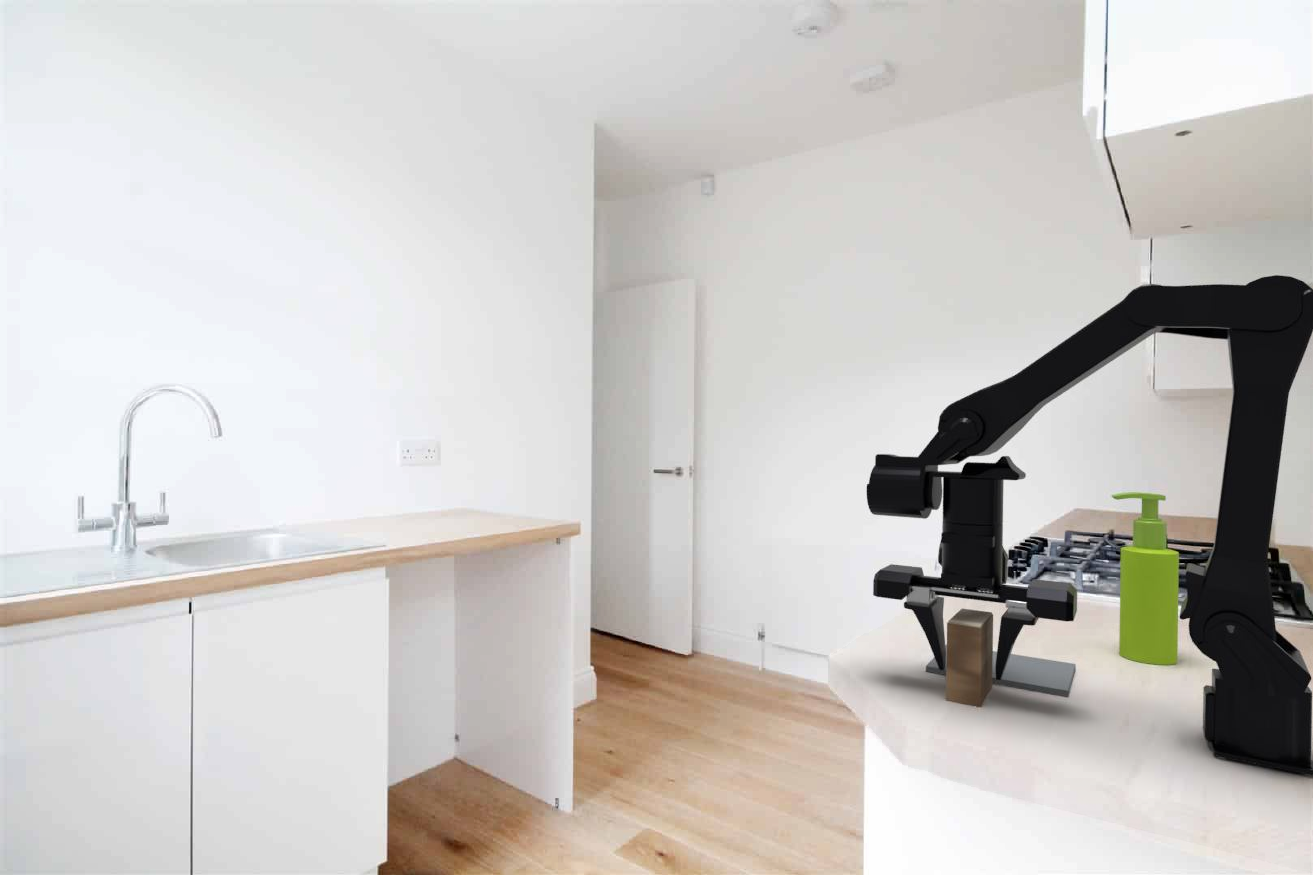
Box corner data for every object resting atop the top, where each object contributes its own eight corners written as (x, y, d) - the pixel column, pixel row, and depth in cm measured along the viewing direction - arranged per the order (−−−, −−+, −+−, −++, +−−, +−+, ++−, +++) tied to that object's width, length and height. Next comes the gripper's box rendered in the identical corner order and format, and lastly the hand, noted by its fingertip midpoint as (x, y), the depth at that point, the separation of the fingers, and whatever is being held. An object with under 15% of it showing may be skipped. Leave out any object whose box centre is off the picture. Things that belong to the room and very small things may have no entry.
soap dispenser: (1105, 647, 94) (1107, 490, 94) (1169, 653, 91) (1171, 492, 91) (1115, 660, 88) (1117, 493, 88) (1183, 667, 86) (1186, 495, 86)
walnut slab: (992, 687, 78) (993, 612, 78) (980, 707, 72) (981, 625, 72) (960, 682, 80) (961, 608, 80) (945, 700, 74) (947, 621, 74)
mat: (1075, 669, 85) (1075, 663, 85) (1067, 696, 75) (1067, 690, 75) (947, 648, 92) (947, 643, 92) (925, 671, 83) (926, 665, 83)
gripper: (1081, 522, 77) (1079, 670, 77) (900, 510, 88) (898, 641, 88) (1074, 533, 68) (1071, 701, 68) (872, 518, 78) (870, 665, 78)
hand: (970, 674), depth 76 cm, fingers open, 5 cm apart
